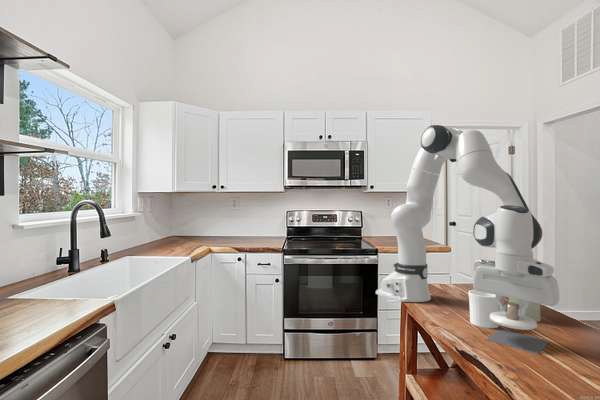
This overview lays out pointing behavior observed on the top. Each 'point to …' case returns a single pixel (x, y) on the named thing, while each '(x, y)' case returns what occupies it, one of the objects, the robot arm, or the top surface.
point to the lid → (513, 318)
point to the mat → (518, 341)
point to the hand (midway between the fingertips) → (512, 313)
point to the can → (529, 309)
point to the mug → (482, 308)
